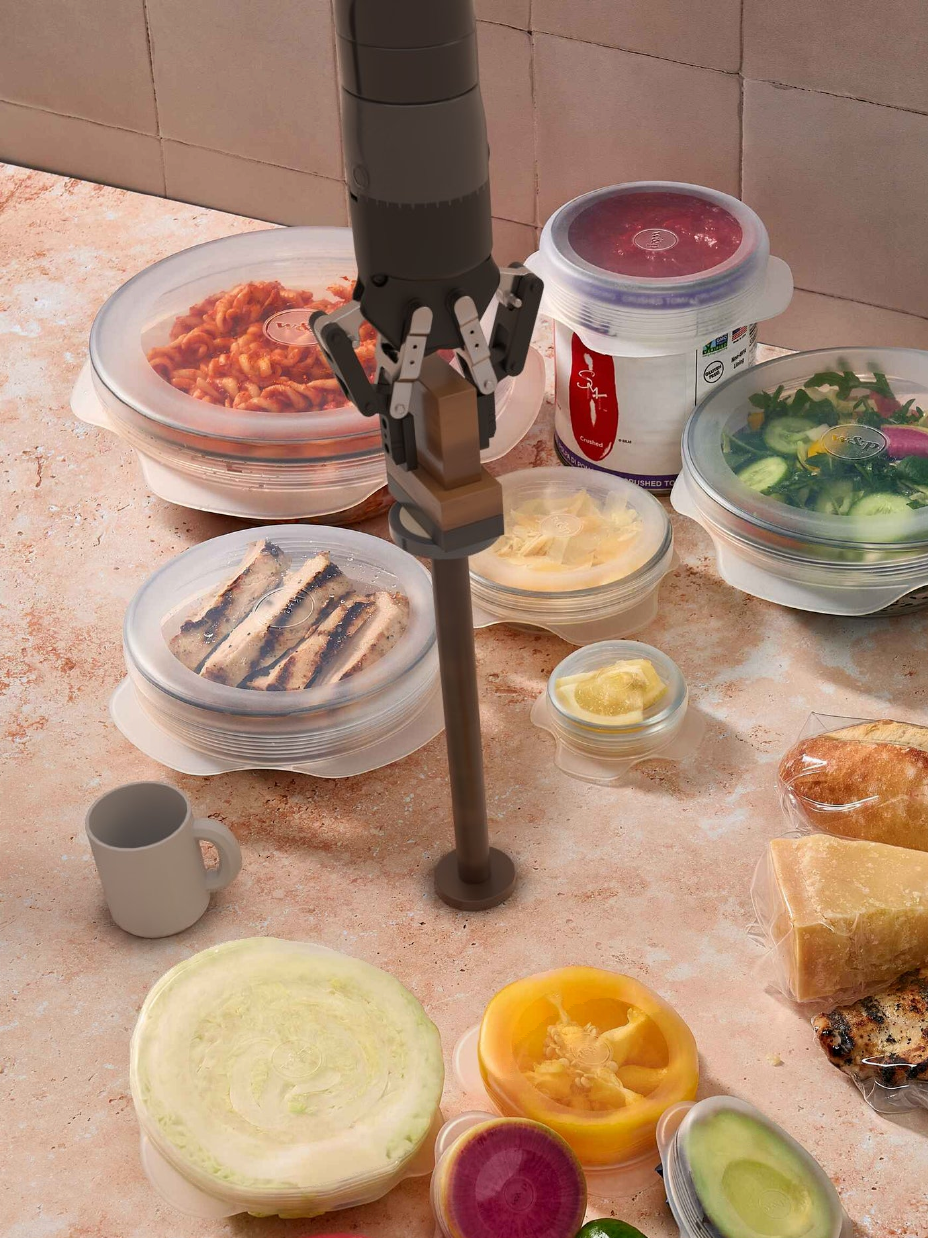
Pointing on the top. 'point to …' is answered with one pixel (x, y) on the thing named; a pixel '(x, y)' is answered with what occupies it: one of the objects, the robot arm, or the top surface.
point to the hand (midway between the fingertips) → (440, 453)
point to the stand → (464, 751)
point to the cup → (157, 857)
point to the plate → (424, 538)
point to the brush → (447, 463)
